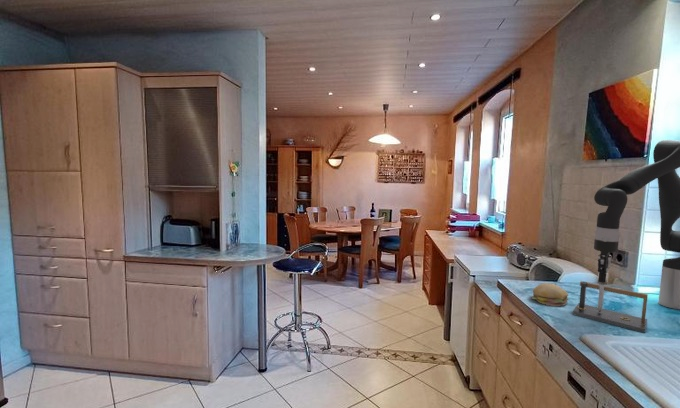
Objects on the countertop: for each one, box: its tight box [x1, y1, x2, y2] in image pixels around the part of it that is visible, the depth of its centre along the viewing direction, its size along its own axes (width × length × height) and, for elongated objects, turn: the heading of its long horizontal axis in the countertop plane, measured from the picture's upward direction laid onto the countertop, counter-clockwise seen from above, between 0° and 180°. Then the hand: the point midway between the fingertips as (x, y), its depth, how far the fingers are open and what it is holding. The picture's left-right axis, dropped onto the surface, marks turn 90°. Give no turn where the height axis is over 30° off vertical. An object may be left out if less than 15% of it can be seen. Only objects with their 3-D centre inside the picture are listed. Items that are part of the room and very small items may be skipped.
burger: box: [531, 282, 569, 307], centre depth 151 cm, size 13×14×8 cm
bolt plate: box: [572, 280, 649, 334], centre depth 134 cm, size 12×22×12 cm, turn 45°
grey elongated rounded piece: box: [596, 271, 610, 312], centre depth 136 cm, size 5×3×17 cm
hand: (602, 281), depth 135 cm, fingers closed on grey elongated rounded piece, 3 cm apart
